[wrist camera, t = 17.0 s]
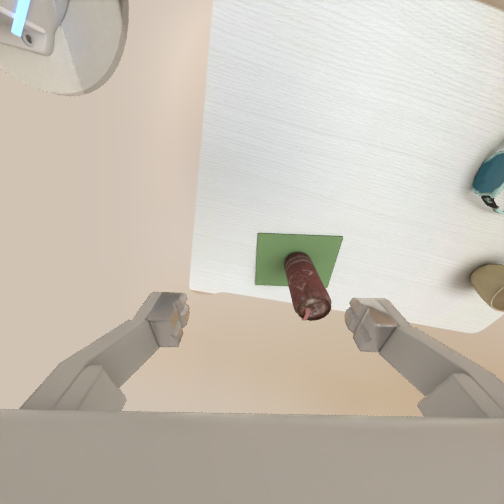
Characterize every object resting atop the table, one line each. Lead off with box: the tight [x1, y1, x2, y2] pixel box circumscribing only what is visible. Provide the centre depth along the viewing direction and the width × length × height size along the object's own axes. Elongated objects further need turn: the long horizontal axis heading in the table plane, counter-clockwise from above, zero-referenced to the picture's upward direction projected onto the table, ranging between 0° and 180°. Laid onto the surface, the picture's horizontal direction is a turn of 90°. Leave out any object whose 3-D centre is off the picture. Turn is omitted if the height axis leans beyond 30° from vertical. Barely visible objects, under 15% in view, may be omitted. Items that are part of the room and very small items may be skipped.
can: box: [284, 252, 331, 321], centre depth 35 cm, size 6×6×14 cm
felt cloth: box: [255, 233, 343, 288], centre depth 41 cm, size 18×14×1 cm
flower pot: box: [471, 264, 504, 312], centre depth 38 cm, size 10×10×7 cm
